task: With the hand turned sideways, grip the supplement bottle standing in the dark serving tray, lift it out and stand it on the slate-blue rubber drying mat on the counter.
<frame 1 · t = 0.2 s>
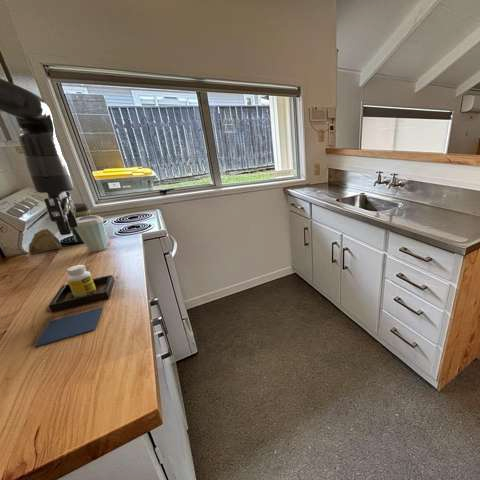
hand: (70, 230, 75), 21 cm above the countertop, tool pointing down, fingers open, 8 cm apart
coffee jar: (88, 240, 130), on the countertop
disposable coffee cup: (98, 249, 117), on the countertop
dark serving tray: (86, 295, 81), on the countertop
drying mat: (72, 325, 67), on the countertop
supplement bottle: (86, 295, 81), resting in dark serving tray
rock: (46, 250, 118), on the countertop
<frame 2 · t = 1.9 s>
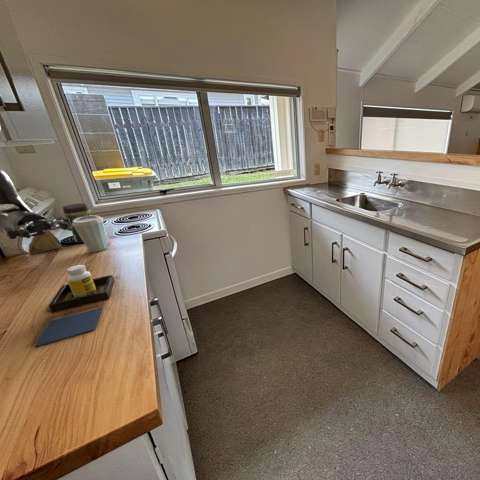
hand: (47, 230, 79), 20 cm above the countertop, tool horizontal, fingers open, 8 cm apart
nothing on the countertop moved.
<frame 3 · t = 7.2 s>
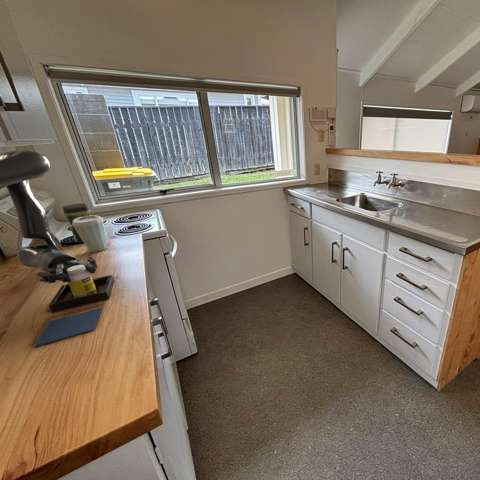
hand: (81, 274, 77), 8 cm above the countertop, tool horizontal, fingers closed on supplement bottle, 5 cm apart
supplement bottle: (86, 295, 81), resting in dark serving tray, touching gripper
everything else where it was.
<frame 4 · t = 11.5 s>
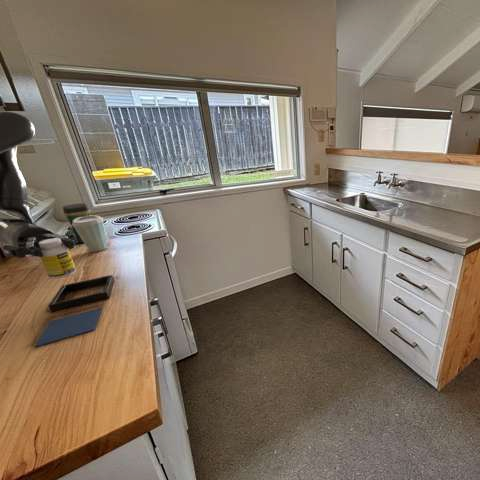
hand: (56, 248, 65), 20 cm above the countertop, tool horizontal, fingers closed on supplement bottle, 5 cm apart
supplement bottle: (64, 275, 69), point 12 cm above the countertop, touching gripper
everything else where it was.
when the fingers open (8 cm above the countertop, at t = 16.2 s): supplement bottle stays where it is, resting on drying mat.
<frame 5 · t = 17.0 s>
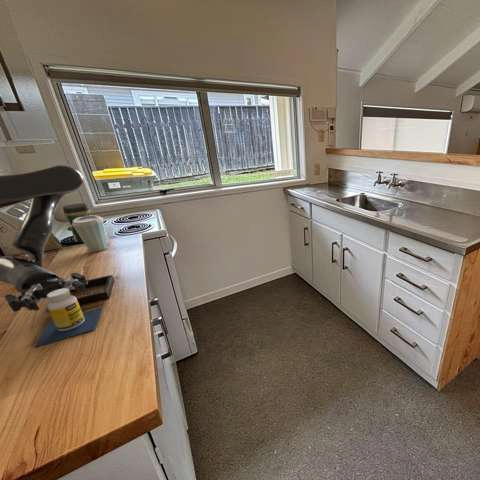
hand: (60, 297, 63), 9 cm above the countertop, tool horizontal, fingers open, 8 cm apart
supplement bottle: (72, 325, 67), resting on drying mat
everything else where it was.
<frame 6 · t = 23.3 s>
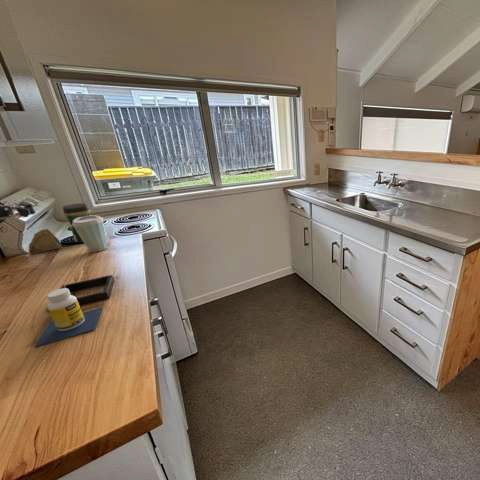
hand: (0, 217, 63), 28 cm above the countertop, tool horizontal, fingers open, 8 cm apart
nothing on the countertop moved.
at the end: supplement bottle inside the target area (0.1 cm from its centre), resting on drying mat; supplement bottle tilted 0°; the gripper is holding nothing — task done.
